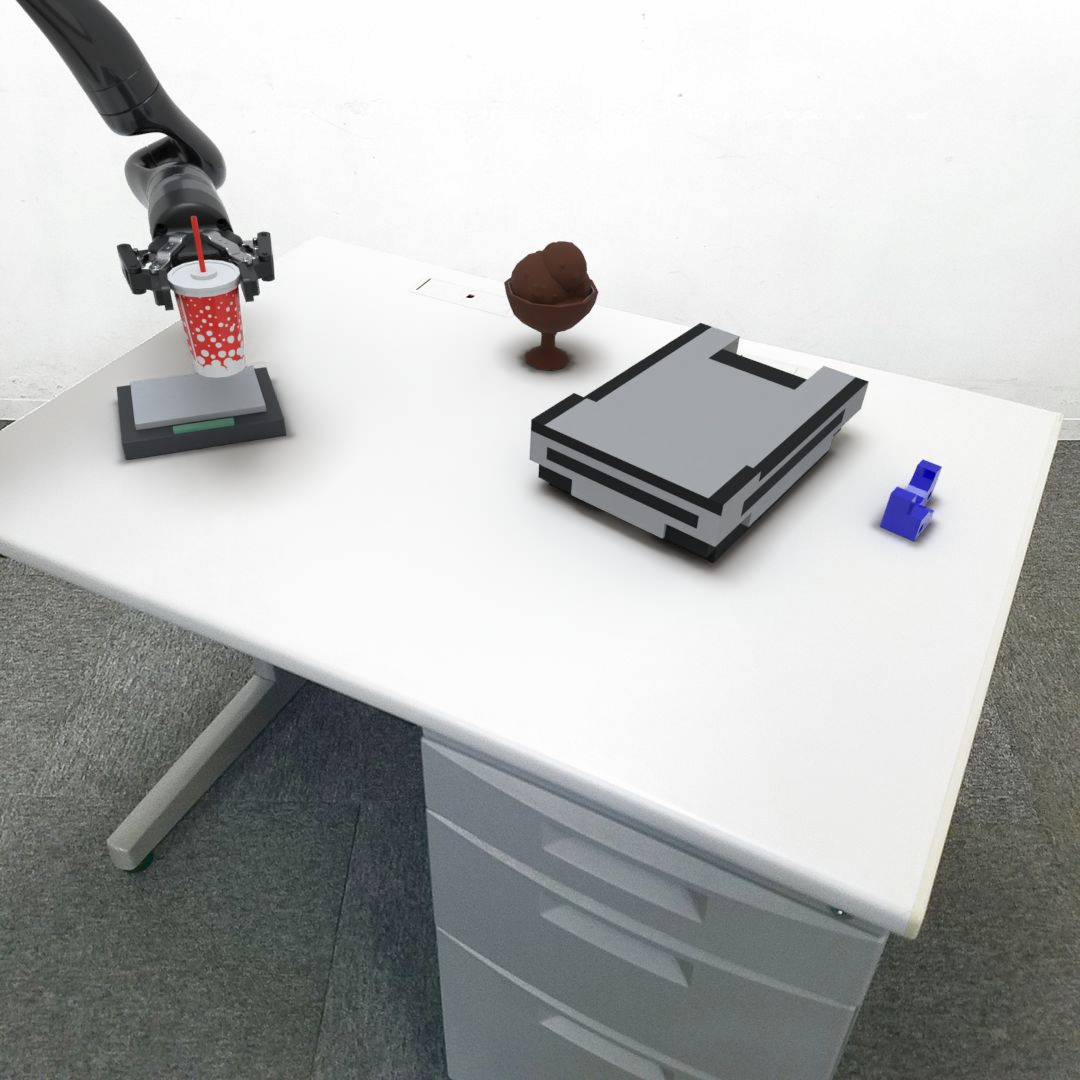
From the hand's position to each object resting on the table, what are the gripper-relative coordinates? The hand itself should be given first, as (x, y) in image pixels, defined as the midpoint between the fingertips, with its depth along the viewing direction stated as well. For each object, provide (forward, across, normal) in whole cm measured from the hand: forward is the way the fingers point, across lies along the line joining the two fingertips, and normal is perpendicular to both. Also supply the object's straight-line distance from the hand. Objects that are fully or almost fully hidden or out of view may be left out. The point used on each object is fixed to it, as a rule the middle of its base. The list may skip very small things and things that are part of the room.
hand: (208, 295), depth 83 cm
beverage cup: (-2, 0, +8) cm, 9 cm away
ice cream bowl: (-16, +38, +20) cm, 46 cm away
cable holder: (+25, +62, +20) cm, 70 cm away
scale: (-13, -2, +20) cm, 24 cm away
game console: (+10, +46, +20) cm, 51 cm away
